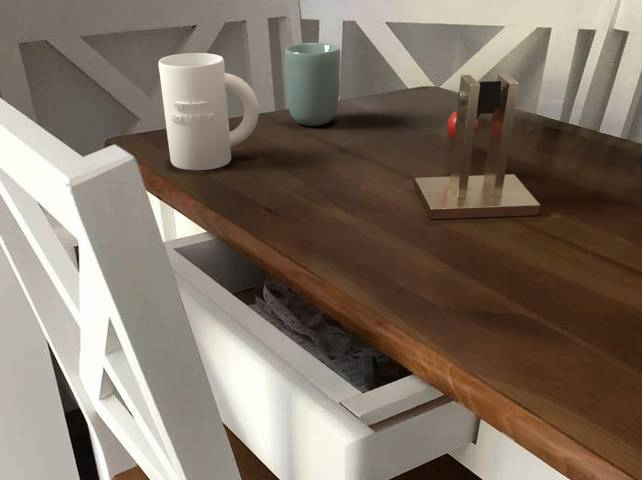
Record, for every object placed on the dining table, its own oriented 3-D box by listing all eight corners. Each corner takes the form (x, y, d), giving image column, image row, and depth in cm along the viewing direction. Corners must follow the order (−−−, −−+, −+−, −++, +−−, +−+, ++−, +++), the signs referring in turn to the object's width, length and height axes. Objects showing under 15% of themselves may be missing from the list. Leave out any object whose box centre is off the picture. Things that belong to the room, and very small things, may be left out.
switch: (444, 145, 89) (443, 114, 89) (473, 144, 89) (472, 113, 89) (473, 112, 76) (473, 75, 76) (508, 111, 76) (508, 74, 76)
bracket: (413, 187, 88) (423, 69, 80) (512, 184, 88) (531, 66, 80) (430, 219, 80) (442, 92, 72) (538, 215, 81) (562, 88, 73)
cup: (348, 120, 111) (350, 45, 105) (321, 133, 106) (321, 55, 100) (305, 113, 114) (304, 40, 108) (276, 125, 109) (274, 50, 103)
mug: (263, 168, 94) (258, 64, 87) (169, 172, 93) (156, 68, 86) (259, 148, 101) (254, 50, 93) (171, 152, 100) (159, 54, 92)
